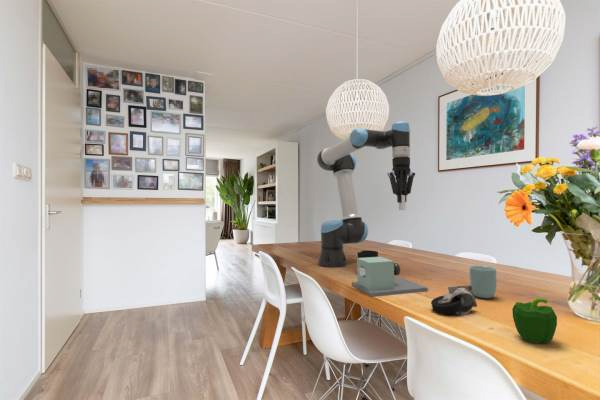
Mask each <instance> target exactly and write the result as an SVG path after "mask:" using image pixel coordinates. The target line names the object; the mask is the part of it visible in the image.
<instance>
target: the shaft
mask: <svg viewBox="0 0 600 400" xmlns="http://www.w3.org/2000/svg"><path fill="white" fill-rule="evenodd" d="M358 273H359V275H360V276H365V267H363V268H359V269H358ZM400 274H401V267H400V265H399V264H398V263H397V262H394V276H399V275H400Z"/></svg>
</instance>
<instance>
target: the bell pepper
mask: <svg viewBox="0 0 600 400" xmlns="http://www.w3.org/2000/svg"><path fill="white" fill-rule="evenodd" d="M548 301H549V300H548V299H547V298H543V297H538V298H535V299H533V300H532V301H528V302H526V303H525V302H524V303H523V302H515V304H514V305H513V307H512V309H511V310H512V318H513V322H514V326H515V328H516V331H517V333H518V335H519V336H520V337H521V339H522V340H524V341H526V342H529V343H533V344H541V343H547V344H548V343H551V342H552V341H553V339H554V336H555V333H556V329H557V326H558V316H557V314H556V312H555V311H554V309H553V307H552V306H549V305H539V303H544V304H547V303H548Z"/></svg>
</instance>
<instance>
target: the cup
mask: <svg viewBox="0 0 600 400" xmlns="http://www.w3.org/2000/svg"><path fill="white" fill-rule="evenodd" d="M497 277H498V276H497V268H495V267H493V266H487V265H470V267H469V282H470V283H469V285H471V286H472V289H473V293H474V296H475V298H479V299H484V300H485V299H492V298H494V297H495V296H496V293H497Z"/></svg>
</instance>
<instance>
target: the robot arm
mask: <svg viewBox="0 0 600 400" xmlns="http://www.w3.org/2000/svg"><path fill="white" fill-rule="evenodd" d="M410 132H411V130H410V123H409V122H407V121H396V122H393V123H392V124H391V129H389V130H385V131H382V130H375V129H373V130H372V129H365V128H354V129H353V130H352V131H351V132H350V134H349V136H348V137H346V138H345V139H343V140H342V141H340V142H338V143H336V144H335V145H332V146H330V147H326V148H324V149H322V150H321V151H319V153H318V155H317V157H316V162H317V165H318V166H319V167H320V168H321V169H322V170H324V171H330V172H333V173H332V174H333V176H334V177H335V178H336V180H337V181H336V182H337V188H338V195H339V199H340V200H339V201H340V206H341V212H342V213H341V214H342V218H341V219H334V220H328V221H323V222H322V224H321V225H320V226H321V228H320V235H321V236H320V239H321V240H320V243H321V244H320V245H321V251H320V254H319V257H318V261H317V262H318V266H320V267H324V268H325V267H327V268H338V267H339V268H341V267H345V266H347V262H348V260H347V257H346V255H345V251H344V245H347V244H358V243H363V242H364V241H365V240H366V239H367V237H368V234H369V227H368V224H367V223H366V222H365V221H363V219H362V217H361V215H359V212H358V206H357V199H356V194H355V189H354V183H353V177H352V175H353V173H354V170H355V169H356V165H357V160H356V157H355V155H354V154H353V153H354V152H355V151H358V150H360V149H362V148H364V147H369V148H370V147H371V148H376V149H377V150H385V149H387V148H391V151H392V155H391V156H392V163H391V164H392V168H391V171H390V172H387V176H388V178H389V182H390V186H391V190H392V194H393V195H395V196H397V197H396V200H397V201H396V202H397V203H398V211H406V203H407V199H408V197H407V196H408V195H410V194H411V191H412V187H413V181H414V177H415V175H416V173H415V172H413V171H411V167H410V166H411V157H410V156H411V145H410V143H411V141H410V139H411V138H410V135H411V133H410Z"/></svg>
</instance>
